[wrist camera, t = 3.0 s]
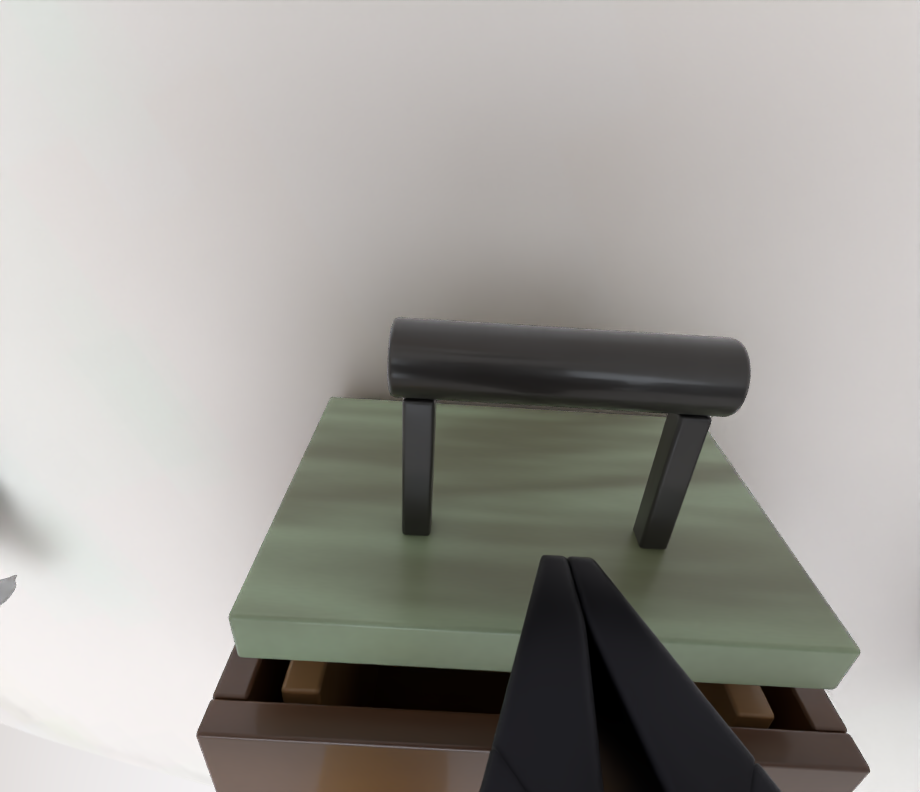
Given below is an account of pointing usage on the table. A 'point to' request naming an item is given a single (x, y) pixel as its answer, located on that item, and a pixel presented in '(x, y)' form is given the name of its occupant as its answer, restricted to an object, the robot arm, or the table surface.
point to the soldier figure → (7, 588)
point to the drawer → (529, 524)
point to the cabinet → (453, 741)
